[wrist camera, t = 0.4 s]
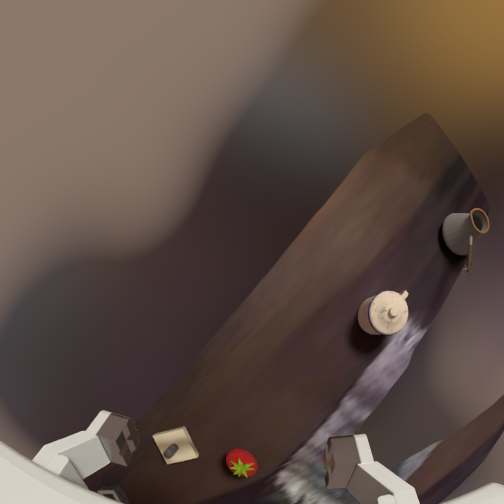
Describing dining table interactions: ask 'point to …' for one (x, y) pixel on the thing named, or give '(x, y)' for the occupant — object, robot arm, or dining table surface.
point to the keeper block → (175, 445)
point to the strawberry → (241, 462)
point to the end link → (114, 493)
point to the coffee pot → (464, 232)
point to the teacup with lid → (384, 313)
